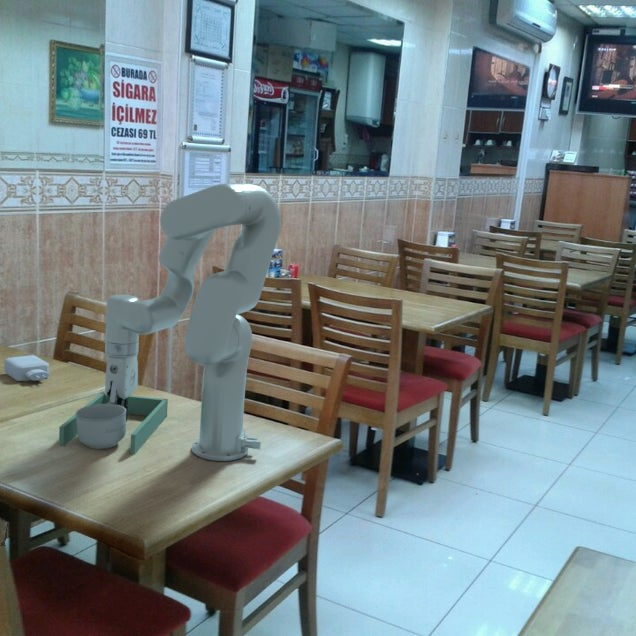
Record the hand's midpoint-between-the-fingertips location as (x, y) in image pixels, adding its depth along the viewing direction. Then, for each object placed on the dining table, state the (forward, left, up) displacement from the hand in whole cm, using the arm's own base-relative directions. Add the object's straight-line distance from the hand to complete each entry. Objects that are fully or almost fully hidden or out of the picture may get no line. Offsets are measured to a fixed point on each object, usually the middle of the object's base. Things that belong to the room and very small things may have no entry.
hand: (119, 421), depth 179 cm
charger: (+35, -29, -2) cm, 46 cm away
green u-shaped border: (0, +2, -1) cm, 3 cm away
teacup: (0, +10, -1) cm, 10 cm away
